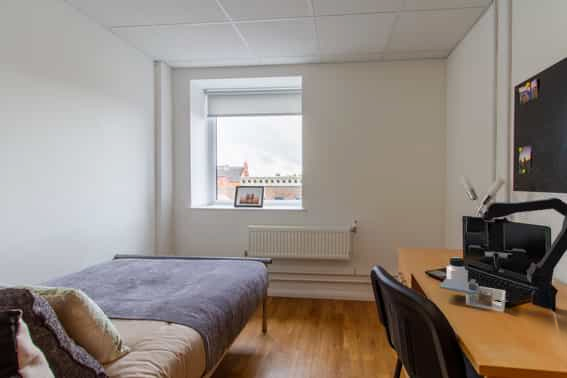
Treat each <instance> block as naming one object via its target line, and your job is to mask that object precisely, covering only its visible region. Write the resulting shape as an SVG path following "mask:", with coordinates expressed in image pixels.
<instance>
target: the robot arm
mask: <svg viewBox="0 0 567 378" xmlns="http://www.w3.org/2000/svg"><path fill="white" fill-rule="evenodd" d="M485 208H486V209H485V211H484V213H483V214H482V215H481V216H471V215H470V216H468V215H467V216H466V221H465V222H466V223H465V233H466V234H479V235H480V234H483V233H484V232H486V230H487V232H486V236H485V237H483V246H487V248H483V247H481V245H475V244H470V245H469V246H468V249H467V250H468V255H475V256H477V255H479V254H484V258H485V259H488V261H489V262H490V264H491V267H492V268H493V272H494V274H495V275H496V274H499V271H500V268H501V266H502V264H503V262H504V261H506V260H507V261H508V256H512V257H513V258H514V259H518V260H526V259H527V251H526V250H525V249H523V248H512V250H508V249H507V250H506V242H505V240H506V239H505V236H506V235H505V232H506V231H505V224H511V223H512V222H511V221H510V220H508V218H507V216H510V215H513V214H514V215H515V214H517V213H527V212H536V211H537V212H538V211H547V210H554V211H556V212H557V213H559V214H560V215H562V216H563V218H564V219H563V220H562V225H561V229H560V231H559V233H558V234H557V236H556V237H555V239H554V241H553V242H552V244H551V245H550V247H548V250H547V251H546V253H545V255H544V256H543V258H542V259H541V261H539V262H538V263H536V264H535V263H534V262H531V263H530V265H529V266H530V267H529V268H528V269H527V270H526V272H527V274H526V278H527V280H528V281H529V283H530V284H531V285H532V286H533V291H532V292H531V304H532V305H533V306H537V307H540V308H544V309H551V310H552V312H557V304H556V303H557V294H558V292H559V290H558V289H557V287H556V286H554V285H553V284H552V279H553V276H554V270H555V268H556V267H557V265H558V264H559V262H560V260H561V259H562V257H563V256H564V254H565V253H566V252H567V203H566V202H565V201H563V200H562V199H561V198H557V197H550V198H545V199H536V200H535V199H534V200H526V201H519V202H518V201H517V202H504V201H503V202H501V201H500V202H499V201H492V202H490V203H488V204H487V205H486V207H485ZM492 219H493V220H492ZM495 255H497V256H498V257H497V260H496V259H495ZM496 261H497V262H496Z"/></svg>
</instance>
